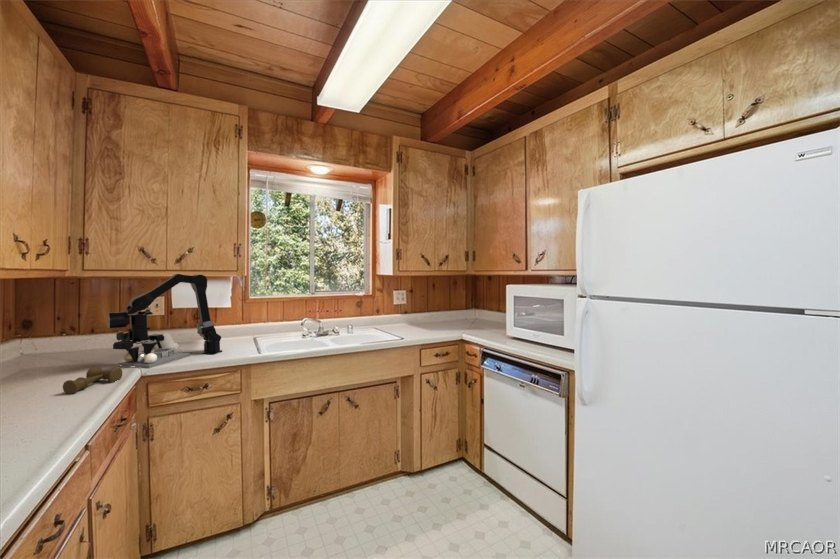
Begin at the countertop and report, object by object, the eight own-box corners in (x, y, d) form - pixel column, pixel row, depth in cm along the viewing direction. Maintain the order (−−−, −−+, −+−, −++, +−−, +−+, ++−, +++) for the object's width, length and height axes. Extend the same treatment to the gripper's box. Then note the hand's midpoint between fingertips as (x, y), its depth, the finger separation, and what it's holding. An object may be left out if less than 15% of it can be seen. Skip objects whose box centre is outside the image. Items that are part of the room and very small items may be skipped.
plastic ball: (159, 362, 155) (159, 352, 155) (150, 364, 150) (150, 354, 150) (151, 361, 156) (151, 351, 155) (142, 364, 151) (141, 354, 151)
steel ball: (149, 361, 156) (149, 351, 156) (140, 364, 152) (139, 354, 151) (141, 360, 157) (141, 351, 157) (131, 363, 152) (131, 353, 152)
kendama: (54, 396, 119) (108, 376, 139) (82, 397, 119) (131, 376, 139) (53, 379, 119) (107, 361, 139) (81, 380, 119) (131, 362, 139)
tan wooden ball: (139, 360, 157) (139, 351, 157) (129, 363, 153) (129, 353, 152) (131, 360, 158) (131, 350, 158) (121, 363, 154) (121, 353, 153)
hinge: (170, 353, 175) (161, 335, 174) (159, 357, 174) (150, 339, 172) (179, 346, 191) (171, 329, 189) (169, 349, 189) (161, 333, 187)
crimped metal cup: (180, 353, 170) (180, 348, 170) (161, 358, 160) (160, 353, 160) (163, 352, 172) (163, 347, 172) (142, 357, 162) (142, 352, 162)
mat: (190, 355, 170) (190, 353, 170) (149, 368, 150) (149, 365, 150) (163, 354, 173) (163, 351, 173) (119, 366, 153) (119, 363, 153)
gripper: (145, 321, 164) (146, 354, 165) (101, 328, 146) (103, 365, 147) (164, 322, 162) (165, 355, 163) (123, 329, 144) (124, 367, 144)
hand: (140, 360), depth 154 cm, fingers closed on steel ball, 4 cm apart
